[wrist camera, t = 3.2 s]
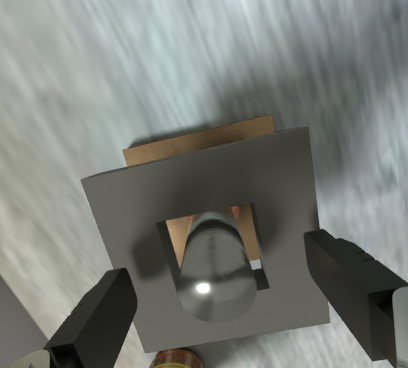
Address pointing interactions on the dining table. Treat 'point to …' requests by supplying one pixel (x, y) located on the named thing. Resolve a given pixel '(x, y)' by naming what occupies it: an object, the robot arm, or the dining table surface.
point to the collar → (205, 202)
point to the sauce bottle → (176, 359)
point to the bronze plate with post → (212, 232)
